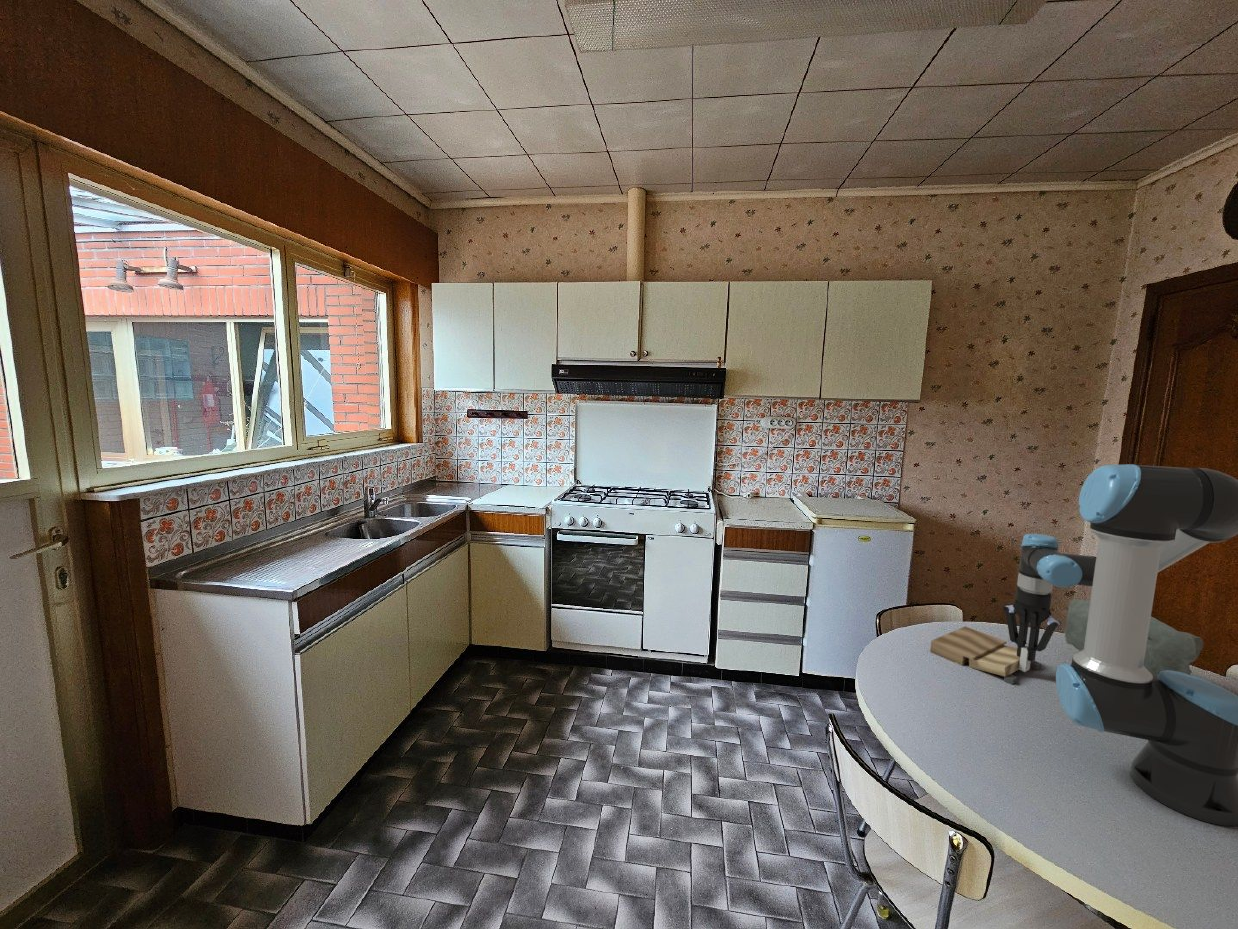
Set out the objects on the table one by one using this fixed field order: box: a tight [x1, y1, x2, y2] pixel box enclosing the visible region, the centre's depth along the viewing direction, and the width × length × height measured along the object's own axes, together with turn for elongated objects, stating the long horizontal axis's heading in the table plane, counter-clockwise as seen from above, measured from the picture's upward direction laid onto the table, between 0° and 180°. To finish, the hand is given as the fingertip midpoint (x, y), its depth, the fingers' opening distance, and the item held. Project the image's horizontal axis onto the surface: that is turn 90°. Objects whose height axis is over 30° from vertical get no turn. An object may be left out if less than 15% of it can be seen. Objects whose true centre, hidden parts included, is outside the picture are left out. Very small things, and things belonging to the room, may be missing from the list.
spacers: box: [1003, 660, 1042, 685], centre depth 141 cm, size 17×2×2 cm, turn 120°
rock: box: [1064, 598, 1204, 679], centre depth 141 cm, size 27×6×20 cm, turn 42°
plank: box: [968, 644, 1036, 677], centre depth 146 cm, size 18×9×5 cm, turn 120°
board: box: [929, 626, 1007, 666], centre depth 153 cm, size 20×12×4 cm, turn 120°
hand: (1024, 669), depth 141 cm, fingers closed
